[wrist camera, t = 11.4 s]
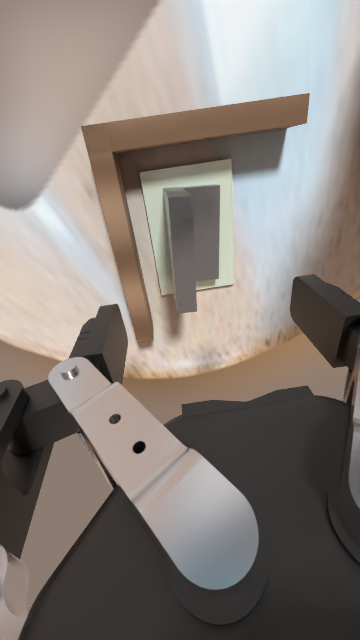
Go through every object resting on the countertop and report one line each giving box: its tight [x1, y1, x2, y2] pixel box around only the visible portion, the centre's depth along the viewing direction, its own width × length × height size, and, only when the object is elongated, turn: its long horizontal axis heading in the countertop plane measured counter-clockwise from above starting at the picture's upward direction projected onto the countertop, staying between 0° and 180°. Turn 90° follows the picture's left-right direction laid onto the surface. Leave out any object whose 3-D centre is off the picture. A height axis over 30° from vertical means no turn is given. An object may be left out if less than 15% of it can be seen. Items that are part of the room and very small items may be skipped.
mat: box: [139, 159, 234, 295], centre depth 24 cm, size 11×8×1 cm
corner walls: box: [81, 93, 310, 343], centre depth 23 cm, size 18×15×3 cm
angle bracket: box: [163, 184, 220, 313], centre depth 21 cm, size 8×4×7 cm, turn 4°
